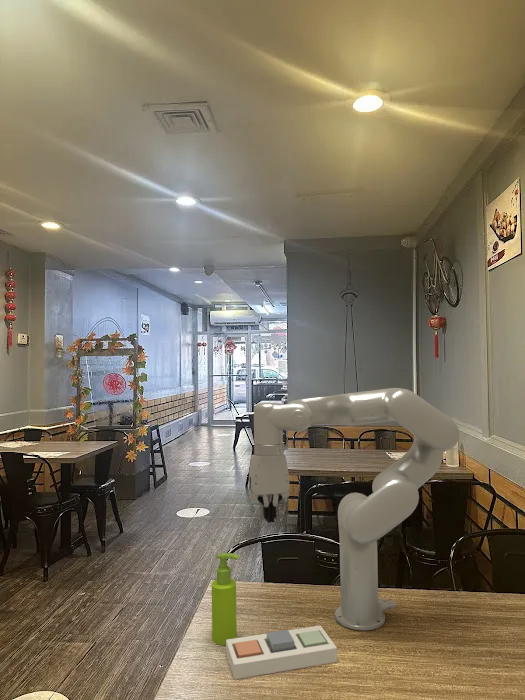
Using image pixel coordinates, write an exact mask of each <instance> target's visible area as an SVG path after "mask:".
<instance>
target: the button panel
mask: <svg viewBox="0 0 525 700" xmlns="http://www.w3.org/2000/svg"><path fill="white" fill-rule="evenodd" d="M287 630H288V631H289V633H290V635H291V636H292V638H293V640H294V650H288V651H282V652H276V653H272V652H271V650H270V647H269V645H268V643H267V633H262V634H255V635H247V636H242V637H237V638H234V639H227V640H226V645H225V654H226V657H227V661H228V663H229V667H230V670H231V673H232V676H233V679H234V680H241V679H246V678H251V677H257V676H263V675H268V674H269V675H270V674H274V673H280V672H286V671H292V670H298V669H303V668H310V667H316V666H320V665H321V666H322V665H326V664H327V665H328V664H333V663H337V662H338V648H337V646H336V645H335V643H334V642H333V640H332V638H330V636H329V635H328V634H327V632H326V631H325V629H324V628H323V627H322V626H321V625H315V626H308V627H302V628H295V629H287ZM316 630H319V632H320V633H321V635H322V636H323V638H324V639H325V640H326V644H325V645H319V646H313V647H306V648H304V647H303V646H302V644H301V642H300V641H299V639H298V633H303V632H310V631H316ZM251 640H256V641H257V643H258V645H259V647H260V650H261V654H262V655H257V656H251V657H245V658H238V659H237V657H236V654H235V649H234V643H238V642H244V641H251Z"/></svg>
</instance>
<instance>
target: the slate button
mask: <svg viewBox="0 0 525 700" xmlns="http://www.w3.org/2000/svg"><path fill="white" fill-rule="evenodd" d="M288 630H289V629H284V630H276V631H271V632H267V633H266V634H267V643H268V645H269V647H270V650H271V652H272V653H276V652H282V651H288V650H294V640H293V638H292V636H291V635H290V633H289V631H288Z"/></svg>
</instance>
